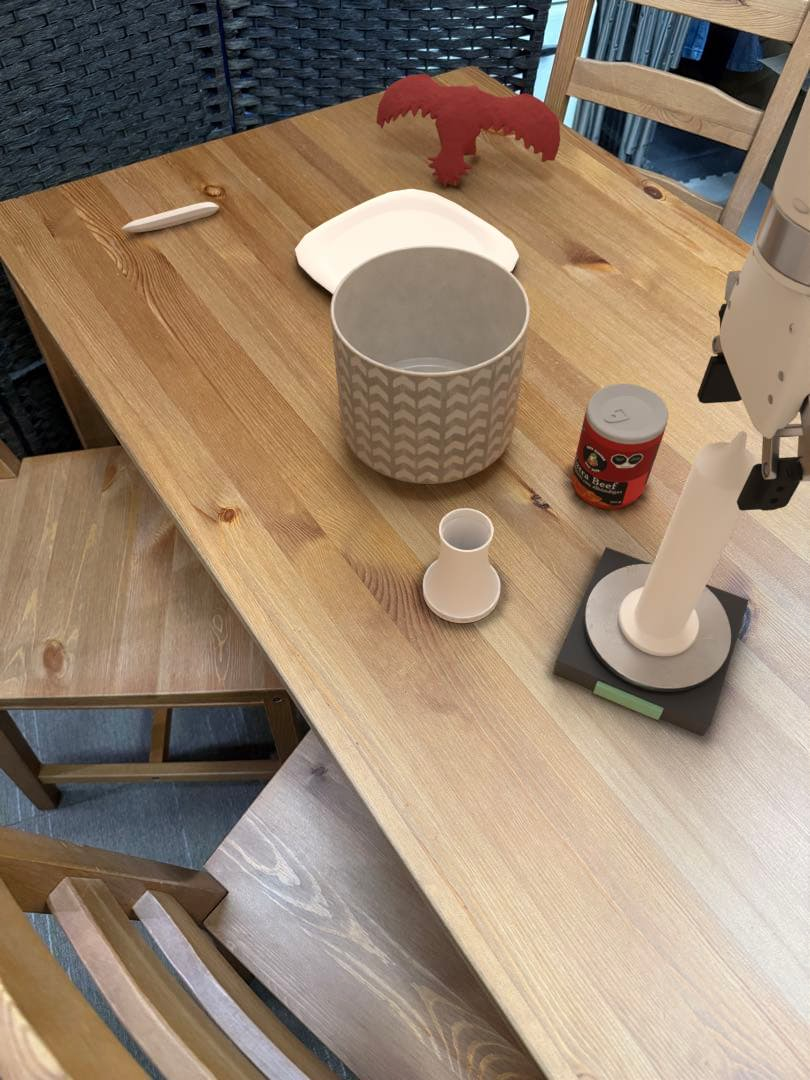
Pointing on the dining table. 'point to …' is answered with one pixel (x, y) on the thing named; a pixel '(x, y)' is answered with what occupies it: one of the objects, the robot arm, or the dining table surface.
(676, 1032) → the dining table surface
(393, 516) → the dining table surface
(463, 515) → the vase
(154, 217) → the pen
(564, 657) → the scale
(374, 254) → the plate
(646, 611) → the candle
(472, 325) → the planter
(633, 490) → the canned food
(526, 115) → the decorative bird sculpture
